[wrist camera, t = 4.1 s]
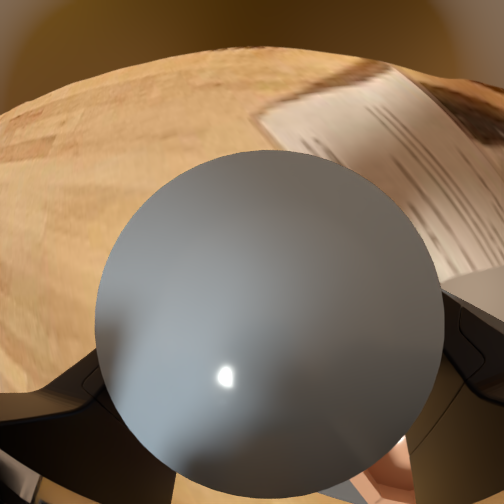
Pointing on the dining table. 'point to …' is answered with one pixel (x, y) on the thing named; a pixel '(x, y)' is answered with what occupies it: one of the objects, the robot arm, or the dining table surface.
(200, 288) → the cylinder
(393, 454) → the dish
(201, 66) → the dining table surface
